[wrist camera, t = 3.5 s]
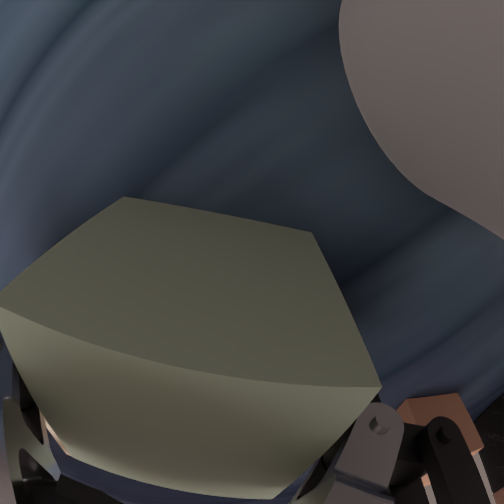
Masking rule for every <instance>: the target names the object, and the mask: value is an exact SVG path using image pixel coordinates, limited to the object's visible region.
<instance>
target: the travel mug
mask: <svg viewBox="0 0 504 504" xmlns="http://www.w3.org/2000/svg"><path fill="white" fill-rule="evenodd" d="M474 425H475V427H476V429H477V432H478V434H479V436H480V438H481V440H482V442H483V444H484V447H483V448H482V449H481V450H480V451H478V452H479V455H480V457H481V460H482V463H483V466H484V468H485V471H486V474H487V477H488V480H489V483H490V486H491V490H492V492H493V496H494V499H495V501H496V504H504V395H503V396H501V397H500V398H499V399H498V400H496V401H495V402H494V403H493V404H492V405H491V406H490V407H488V408H487V409H486V410H485V411H484V412H483V413H482V414H481V415H480V416H479V417H478V418H477V419H476V420H475V422H474Z"/></svg>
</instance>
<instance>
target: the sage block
mask: <svg viewBox="0 0 504 504" xmlns="http://www.w3.org/2000/svg"><path fill="white" fill-rule="evenodd" d="M0 331H1V333H2V336H3V338H4V341H5V343H6V346H7V348H8V350H9V352H10V355H11V357H12V359H13V361H14V363H15V365H16V367H17V370H18V372H19V374H20V376H21V377H22V379H23V381H24V383H25V385H26V387H27V389H28V391H29V392H30V394H31V396H32V398H33V399H34V401H35V403H36V405H37V406H38V408H39V409H40V411H41V413H42V414H43V416H44V417H45V419H46V421H47V422H48V424H49V425H50V427H51V428H52V430H53V431H54V432H55V434H56V435H57V437H58V438H59V440H60V441H61V442H62V444H63V445H64V446H65V448H66V449H67V450H68V452H69V453H70V454H71V455H72V457H73V458H75V459H78V460H80V461H82V462H85V463H87V464H90V465H92V466H95V467H98V468H100V469H103V470H106V471H109V472H112V473H115V474H118V475H121V476H124V477H127V478H131V479H134V480H138V481H141V482H145V483H149V484H153V485H157V486H162V487H166V488H171V489H176V490H181V491H186V492H192V493H199V494H206V495H213V496H222V497H233V498H248V499H273V498H274V497H275V496H277V495H278V494H279V493H280V492H282V491H283V490H284V489H285V488H286V487H288V486H289V485H290V484H291V483H292V482H294V481H295V480H296V479H297V478H298V477H299V476H300V475H302V474H303V473H304V472H305V471H306V470H307V469H308V468H309V467H310V466H311V465H313V464H314V463H315V462H316V461H317V460H318V459H319V458H320V457H321V456H322V455H323V454H324V453H325V452H326V451H327V450H328V449H329V448H330V447H331V446H332V445H333V444H334V443H335V442H336V441H337V440H338V439H339V438H340V437H341V435H342V434H343V433H344V432H345V431H346V430H347V429H348V428H349V427H350V426H351V424H352V423H353V422H354V421H355V420H356V419H357V418H358V416H359V415H360V414H361V413H362V412H363V411H364V409H365V408H366V407H367V406H368V404H369V403H370V402H371V401H372V400H373V398H374V397H375V396H376V394H377V393H378V392H379V391H380V389H381V388H382V385H381V383H380V380H379V378H378V375H377V373H376V370H375V368H374V365H373V363H372V361H371V358H370V356H369V353H368V351H367V349H366V346H365V344H364V342H363V339H362V337H361V335H360V332H359V330H358V328H357V326H356V323H355V321H354V319H353V317H352V314H351V312H350V310H349V308H348V306H347V304H346V301H345V299H344V297H343V295H342V293H341V291H340V289H339V286H338V284H337V282H336V280H335V278H334V276H333V274H332V272H331V270H330V268H329V266H328V264H327V262H326V260H325V258H324V256H323V254H322V252H321V250H320V248H319V246H318V244H317V242H316V240H315V238H314V236H313V234H312V232H307V231H303V230H298V229H293V228H289V227H284V226H279V225H275V224H270V223H265V222H260V221H255V220H250V219H245V218H240V217H235V216H230V215H225V214H220V213H215V212H210V211H204V210H199V209H194V208H188V207H183V206H177V205H172V204H166V203H160V202H155V201H149V200H143V199H137V198H131V197H125V196H124V197H122V198H120V199H119V200H117V201H116V202H114V203H113V204H111V205H110V206H108V207H107V208H105V209H104V210H102V211H101V212H99V213H98V214H96V215H95V216H94V217H92V218H91V219H89V220H88V221H87V222H85V223H84V224H82V225H81V226H80V227H78V228H77V229H75V230H74V231H73V232H71V233H70V234H69V235H67V236H66V237H65V238H63V239H62V240H61V241H59V242H58V243H57V244H56V245H54V246H53V247H52V248H50V249H49V250H48V251H47V252H45V253H44V254H43V255H42V256H41V257H39V258H38V259H37V260H36V261H34V262H33V263H32V264H31V265H30V266H29V267H27V268H26V269H25V270H24V271H23V272H22V273H20V274H19V275H18V276H17V277H16V278H15V279H14V280H13V281H11V282H10V283H9V284H8V285H7V286H6V287H5V288H4V289H3V290H2V291H1V292H0Z"/></svg>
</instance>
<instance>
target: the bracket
mask: <svg viewBox="0 0 504 504" xmlns="http://www.w3.org/2000/svg"><path fill="white" fill-rule="evenodd" d="M339 41H340V48H341V55H342V60H343V64H344V69H345V72H346V76H347V79H348V82H349V86H350V88H351V91H352V93H353V96H354V99H355V101H356V104H357V106H358V108H359V110H360V112H361V115H362V117H363V119H364V120H365V122H366V124H367V126H368V128H369V130H370V132H371V133H372V135H373V136H374V138H375V140H376V141H377V143H378V145H379V146H380V147H381V149H382V150H383V152H384V153H385V154H386V156H387V157H388V158H389V160H390V161H391V162H392V163H393V164H394V166H395V167H396V168H397V169H398V170H399V171H400V172H401V173H402V174H403V175H404V176H405V177H406V178H407V179H408V180H409V181H410V182H411V183H412V184H413V185H415V186H416V187H417V188H418V189H420V190H421V191H423V192H424V193H425V194H427V195H429V196H430V197H432V198H434V199H436V200H438V201H439V202H441V203H443V204H445V205H447V206H449V207H450V208H452V209H454V210H456V211H458V212H459V213H461V214H463V215H465V216H466V217H468V218H470V219H471V220H473V221H475V222H476V223H478V224H480V225H481V226H483V227H484V228H486V229H488V230H489V231H491V232H492V233H494V234H495V235H497V236H499V237H500V238H502V239H503V240H504V0H342V2H341V7H340V13H339Z"/></svg>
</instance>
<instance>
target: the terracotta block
mask: <svg viewBox="0 0 504 504" xmlns="http://www.w3.org/2000/svg"><path fill="white" fill-rule="evenodd" d="M396 411H397V412H398V413H399V415H400V416H401V418H402V420H403V422H405V423H410V424H415V425H421V426H426V425H427V424H428V423H429V422H430V421H431V420H432V419H433V418H435V417H437V416H444V417H447V418H449V419H451V420H452V421H454V422H455V423H456V424H457V426H458V427H459V429H460V431H461V433H462V435H463V437H464V439H465V441H466V443H467V446H468V448H469V450H470V452H471V455H472V456H473V455H475V454H476V453H477V452H478V451H480V450H481V449H482V448H483V447H484V444H483V442H482V440H481V438H480V436H479V434H478V432H477V429H476V427H475V425H474V423H473V421H472V419H471V417H470V415H469V413H468V412H467V410H466V408H465V406H464V404H463V402H462V400H461V398H460V396H459V395H458V393H452V394H445V395H438V396H430V397H422V398H412V399H406V400H405V401H404V402H403V403H402V404H401V405H400V407H399V408H398V409H397V410H396ZM421 479H422V482H423V485H424V487H425V486H428V485H430V484H431V483H430V480H429V477H428V474H426V475H424V476H423V477H422V478H421Z"/></svg>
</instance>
